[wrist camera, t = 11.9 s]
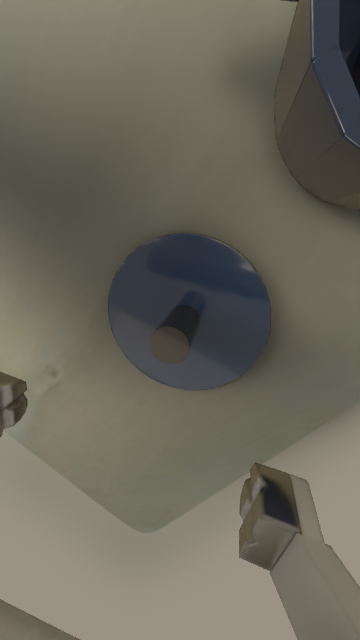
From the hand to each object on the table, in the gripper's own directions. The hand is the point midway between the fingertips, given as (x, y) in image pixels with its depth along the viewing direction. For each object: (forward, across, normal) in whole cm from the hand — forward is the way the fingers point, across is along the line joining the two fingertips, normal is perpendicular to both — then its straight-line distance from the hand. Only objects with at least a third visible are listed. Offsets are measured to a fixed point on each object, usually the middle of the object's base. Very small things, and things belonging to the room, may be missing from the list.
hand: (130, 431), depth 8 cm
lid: (+12, +1, +1) cm, 13 cm away
